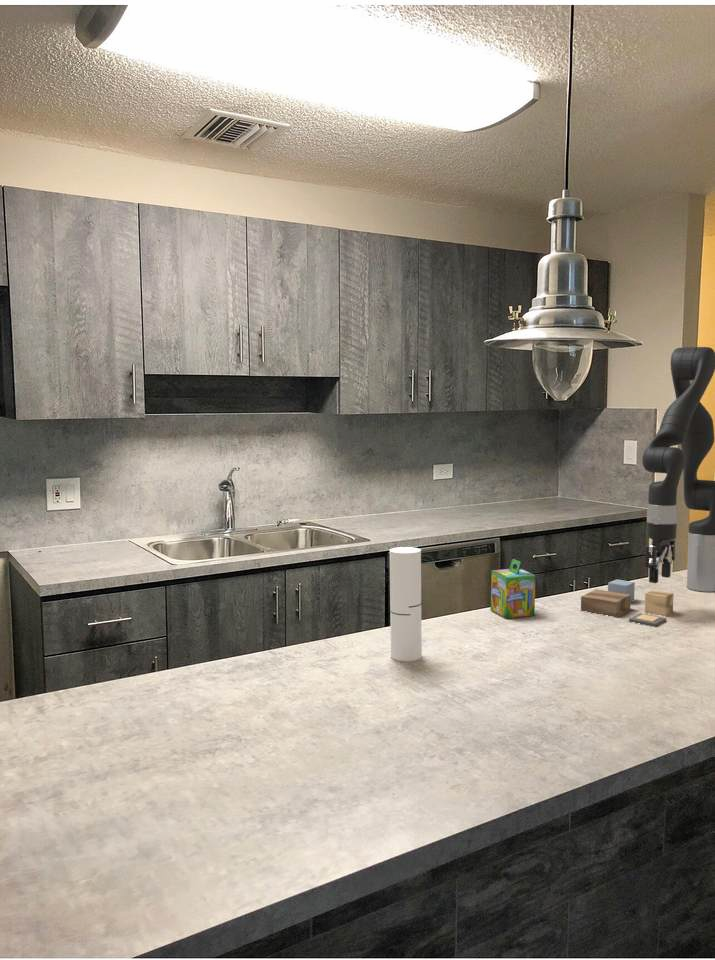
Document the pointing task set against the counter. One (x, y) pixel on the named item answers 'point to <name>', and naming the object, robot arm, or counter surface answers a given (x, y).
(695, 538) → the robot arm
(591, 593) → the base block
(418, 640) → the cylindrical container
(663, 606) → the oak block
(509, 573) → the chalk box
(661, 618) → the tile
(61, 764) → the counter surface
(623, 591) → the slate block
